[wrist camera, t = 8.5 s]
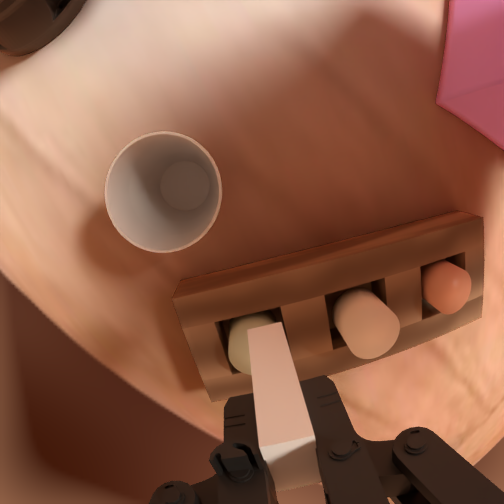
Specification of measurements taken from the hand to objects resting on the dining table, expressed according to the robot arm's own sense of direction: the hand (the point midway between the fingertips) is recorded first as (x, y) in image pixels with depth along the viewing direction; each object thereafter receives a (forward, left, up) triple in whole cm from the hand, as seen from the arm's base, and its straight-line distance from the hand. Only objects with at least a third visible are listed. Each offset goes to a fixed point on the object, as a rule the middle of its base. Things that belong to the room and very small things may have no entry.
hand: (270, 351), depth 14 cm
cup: (-8, -5, -19) cm, 21 cm away
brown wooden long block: (+7, +8, -18) cm, 21 cm away
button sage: (+7, -2, -16) cm, 17 cm away
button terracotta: (+7, +18, -16) cm, 25 cm away
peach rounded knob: (+7, +8, -14) cm, 18 cm away
